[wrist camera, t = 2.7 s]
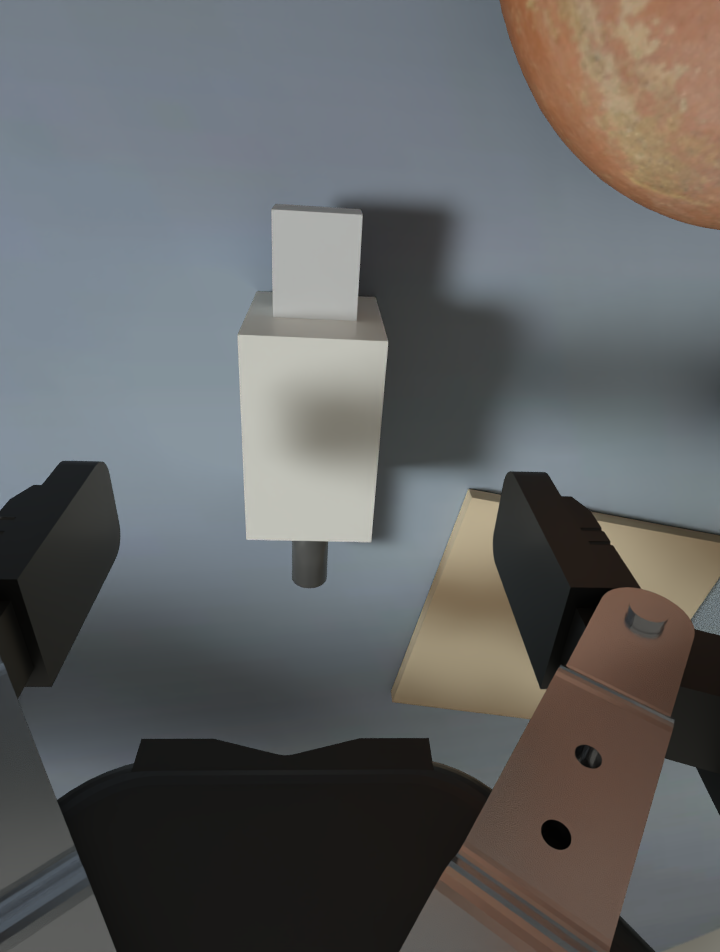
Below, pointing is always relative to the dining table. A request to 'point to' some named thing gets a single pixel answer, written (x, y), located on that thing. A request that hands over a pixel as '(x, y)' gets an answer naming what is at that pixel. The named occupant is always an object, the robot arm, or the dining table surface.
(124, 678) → the dining table surface
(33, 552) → the robot arm
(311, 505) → the connector
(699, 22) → the ceramic jug
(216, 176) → the dining table surface
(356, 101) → the dining table surface
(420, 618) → the coaster
